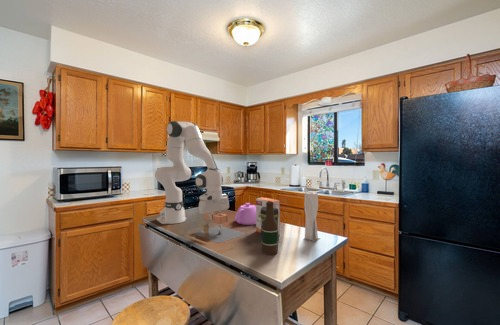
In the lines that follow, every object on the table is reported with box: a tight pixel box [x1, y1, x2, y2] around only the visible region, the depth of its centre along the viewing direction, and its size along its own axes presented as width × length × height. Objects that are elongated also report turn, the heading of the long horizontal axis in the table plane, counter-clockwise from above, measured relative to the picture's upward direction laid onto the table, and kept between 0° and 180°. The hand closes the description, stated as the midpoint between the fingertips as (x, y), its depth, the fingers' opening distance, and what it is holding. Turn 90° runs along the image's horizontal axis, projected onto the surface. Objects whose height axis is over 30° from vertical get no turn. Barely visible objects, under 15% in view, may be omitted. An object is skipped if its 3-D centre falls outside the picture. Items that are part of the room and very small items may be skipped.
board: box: [192, 225, 248, 244], centre depth 140 cm, size 24×21×1 cm
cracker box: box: [255, 196, 281, 237], centre depth 140 cm, size 14×6×21 cm, turn 42°
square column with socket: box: [204, 212, 229, 225], centre depth 142 cm, size 16×6×4 cm, turn 47°
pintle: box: [217, 224, 223, 235], centre depth 139 cm, size 2×2×6 cm
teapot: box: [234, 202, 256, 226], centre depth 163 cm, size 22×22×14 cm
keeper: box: [202, 224, 210, 238], centre depth 136 cm, size 6×3×7 cm, turn 17°
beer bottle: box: [261, 201, 279, 256], centre depth 115 cm, size 8×8×24 cm
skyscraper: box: [303, 188, 321, 243], centre depth 133 cm, size 8×8×28 cm
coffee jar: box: [260, 206, 280, 242], centre depth 129 cm, size 10×8×19 cm
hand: (214, 218), depth 142 cm, fingers closed on square column with socket, 3 cm apart
